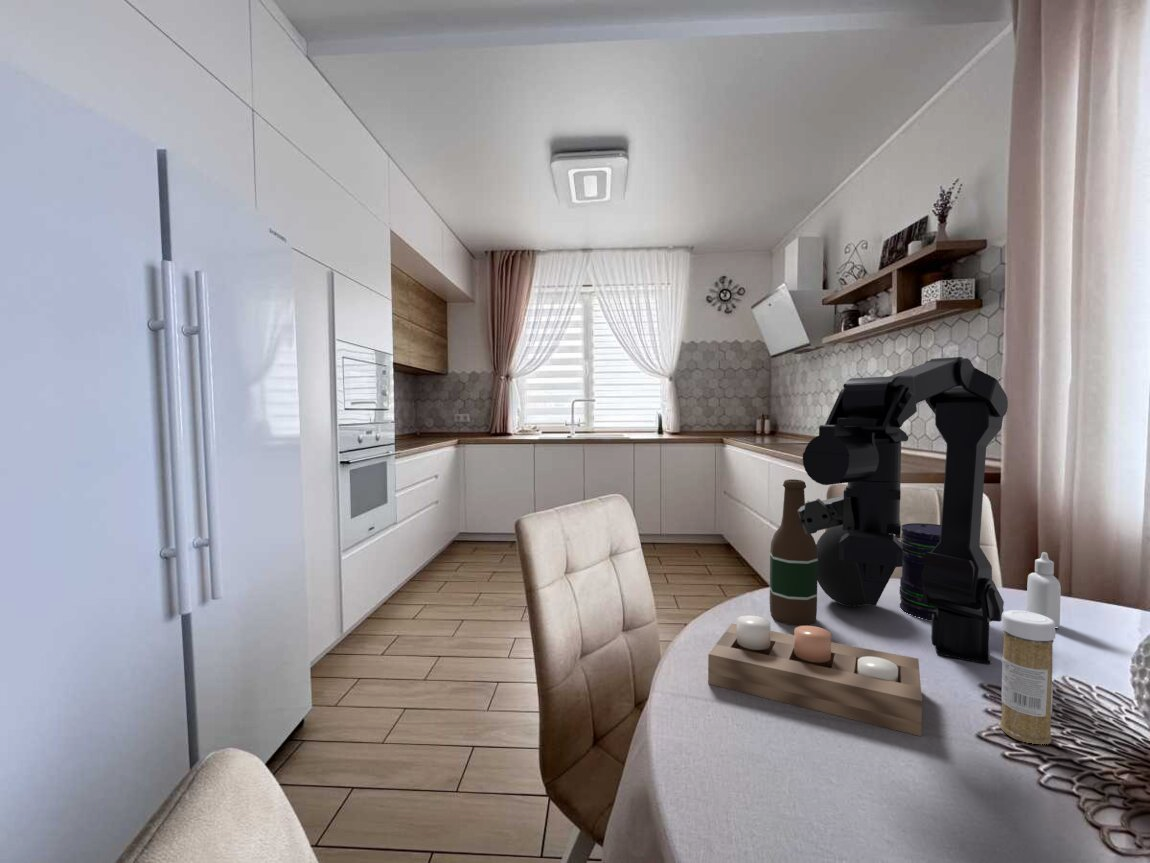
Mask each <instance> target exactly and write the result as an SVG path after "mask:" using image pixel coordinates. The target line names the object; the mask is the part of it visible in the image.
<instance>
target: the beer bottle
mask: <svg viewBox="0 0 1150 863" xmlns="http://www.w3.org/2000/svg"><path fill="white" fill-rule="evenodd" d="M782 486H783V487H784V491H783V492H784V493H783V505H782V507H783V508H782V517H781V522H780V525H779V527H778V529H777V530H776V531H775V532H774V534H773V537H772V538H771V541H770V550H769V552H770V553H769V612H770V614H771V616H772V618H773V620H774V621H777V622H780V623H782V624H785V625H789V626H810V624H813V623H815V622H816V621H817V612H818V581H817V572H818V555H817V546H816V544H817V542H816V540H815V538H814V537H813V534H806V533H805V530H804V528H803V525H802V524H801V523H800V522H799V519H800V517H799V514H798V510H799V508H800V507H802V506H804V505H805V503H806V500H805V498H806V496H805V489H806V488H807V485H806V482H805V481H804V480H802V479H792V478H791V479H785V480H784V481H783V484H782Z"/></svg>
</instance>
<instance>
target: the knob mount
mask: <svg viewBox="0 0 1150 863" xmlns="http://www.w3.org/2000/svg"><path fill="white" fill-rule="evenodd" d="M707 655H708V658H707V660H708V663H707V664H708V666H707V668H708V670H707V671H708V673H707V679H708V680H707V681H708V682H707V683H708V685H712V686H716V687H721V688H724V689H729V690H731V691H737V692H739V693H740V692H741V693H744V694H747V695H753V696H756V697H760V698H765V699H769V700H773V701H776V702H781V703H783V704H784V703H785V704H788V705H789V704H790V705H793V706H797V707H801V708H805V709H810V710H814V711H818V712H821V713H826V714H829V715H834V716H837V717H842V718H846V719H850V720H854V721H858V722H863V723H866V724H871V725H874V726H878V727H882V728H887V729H891V730H895V731H899V732H903V733H906V734H911V735H915V736H919V737H922V729H923V728H922V724H923V723H922V722H923V721H922V720H923V716H922V715H923V697H922V696H923V694H922V686H921V684H922V683H921V674H920V663H919V662H920V661H919V658H916V657H912V656H906V655H902V654H896V653H891V652H884V651H879V650H874V649H870V648H864V647H859V646H858V647H857V646H853V645H847V644H842V643H837V642H833V641H831V659H830V660H829V661H827V662H810V661H806V660H803V659H801V658H799V657H797V656H796V655H795V653H794V634H790V633H789V634H788V633H785V632H779V631H774V630H771V633H770V647H769V648H767V649H763V650H753V649H748V648H745V647H742V646H740V645H739V644H738V643H737V623H731V624H730V625H728V628H727V629H726V630H725V632H724V633H723V634H722V635H721V636H720V638H719V639H718V640H717V642H715V645H713V647H712V648H711V650H710V651H709V652H708V653H707ZM866 656H871V657H879V658H883V659H886V660H889V661H891V662H893V663H894V664H896V665H897V667H898V682H893V681H889V680H884V679H879V678H874V677H870V676H865V675H860V674H857V672H858V659H859V658H861V657H866Z"/></svg>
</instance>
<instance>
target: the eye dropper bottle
mask: <svg viewBox="0 0 1150 863" xmlns="http://www.w3.org/2000/svg"><path fill="white" fill-rule="evenodd" d="M1040 555H1041V556H1040V558H1037V559H1035V560H1034V572H1030V573H1029V574H1028V575H1027V585H1026V588H1027V590H1026V611H1027V612H1032V613H1037V614H1040V615H1043V616H1046V617H1048V618H1050V619H1052V620H1053V621H1054V622H1055V627H1059V628H1060V626H1061V625H1060V624H1061V599H1062V598H1061V596H1062V595H1061V593H1062V592H1061V591H1062V590H1061V589H1062V588H1061V582H1060V581H1059V579H1058V578H1057V577H1055V576H1054V573H1055V562H1054V561H1053V560H1051V559H1050V558H1049V555H1048V553H1047V552H1046V551H1043V552H1041V554H1040Z"/></svg>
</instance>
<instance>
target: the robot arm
mask: <svg viewBox="0 0 1150 863" xmlns="http://www.w3.org/2000/svg"><path fill="white" fill-rule="evenodd" d="M999 382H1000V381H999V380H998V379H997V378H995V377H994V376H991V375H990V374H988V373H986V372H984V371H982V370H980V369H978V368H976V367H975V366H974V364H973V363H972V361H971V360H970V358H969V357H968V358H965V357H962V356H954V357H953V356H952V357H951V356H950V357H942V358H941V357H940V358H931V359H930V360H926V361H925V362H924V363H921V364H919V365H916V366H913V367H911V368H908V369H906V370H902V371H900V372H897V373H894V374H892V375H889V376H870V377H868V376H867V377H866V376H865V377H851V378H849V379H847V380H846V381H845V382H844V384H843V385H842V388H841V389H840V392H839V393H838V396H837V398H836V400H835V402H834V404H833V406H832V409H831V411H830V413H829V415H828V417H827V419H826V421H825V424H820V425H819V426H818V427H819V428H818V435H817V436H815V437H813V438H811V440H810V441H809V442H808V443H807V445H806V447H805V450H804V452H802V465H803V468H804V471H805V473H806V474H807V476H808V477H809V478H810V479H811V480H813V481H814V482H816V483H818V484H820V485H824V486H830V485H837V484H838V485H839V484H847V486H845V488H844V489H843V495H841V496H837V497H832V498H827V499H824V500H821V499H820V498H816V499H815V500H812V501H810V500H808V501H805V505H804V506H802V507H800V508H799V510H798V514H799V517H800V519H799V522H800V523H801V524H802V525H803V528H804V530H805V533H806V534H811V535H813V534H816V533H817V532H819V531H822V530H828V529H829V528H831V527H836V526H839V525H842V524H843V530H847V531H848V532H847V533H846V534H845V535H844V536H842V537H841V540H840V542H839V559H840V560H843V561H850V562H855V563H856V564H857V566H858V570H859V574H860V579H861V583H862V588H863V593H864V597H865V602H866V604H865V605H867V606H871V607H872V606H873V607H874V606H877V604H878V602H879V600H880V598H881V597H882V594H883V592H884V590H885V589H886V587H887V584H888V583H889V581H890V579H891V577H892V576H893V573H894V572H895V570H896V569H897V568H900V567H901V568H902V563H903V546H902V543H901V540H900V539H901V534H902V533H901V532H902V524H901V519H900V518H901V517H900V516H901V515H900V514H901V513H900V512H901V508H900V507H901V498H902V497H901V492H902V491H901V490H902V489H901V483H902V482H901V478H902V477H901V474H902V472H901V471H902V469H901V468H902V442H908V441H909V436H908V434H907V433H906V431H904V430H903V429H902V426H903V425H904V423H905V422H907V420H909V419H910V418H911V417H912V416H914V415H915V414H916V413H917V411H918V409H917V404H919V403H921V402H923V401H925V402H926V404H927V406H928V407H929V409H930V410H931V411H932V412H933V413H934V416H935V417H934V420H935V422H934V423H935V424H934V425H935V428H936V429H937V431H938V432H939V434H940V435H941V437H942V438H943V440H944V442H945V443H946V450H945V451H946V452H945V453H946V454H945V466H944V467H945V468H944V481H943V494H942V495H943V496H942V509H941V511H942V512H941V522H940V525H941V535H940V542H939V543H938V544H937V545H936V547H935V548H934V549H933V550H932V551H931V552H927V553H926V554H925V556H924V569H923V571H922V574H921V586H922V592H923V597H924V603H925V605H926V606H932V607H936V608H937V611H936V614H934V613H933V614H932V621H931V628H930V629H931V634H930V635H931V636H930V638H931V645H933V647H935V652H936V654H937V655H940V656H945V657H951V658H955V659H961V660H967V661H972V662H978V663H981V664H982V663H983V664H991V663H992V659H991V656H990V654H989V652H990V648H989V647H990V623H991V622H999V623H1000V622H1002V615H1003V613H1004V612H1005V611H1004V604H1005V601H1004V599H1003V597H1002V595H1001V593H1000V592H999V589H998V588H997V585H996V584H995V582H994V580H993V578H992V577H993V567H992V566H993V565H992V564H991V562H990V561H989V559H988V558H987V556H986V554H985V553H984V551H983V549H982V548H981V544H980V543H981V542H980V541H981V531H982V530H981V528H982V512H983V500H984V488H985V487H984V484H985V483H984V482H985V471H986V459H987V458H986V457H987V456H986V455H987V448H988V447H987V446H988V445H989V444H990V443H991V441H993V439H994V438H995V437H996V436H997V434H999V432H1000V431H1001V430H1002V428H1003V423H1004V422H1003V420H1004V417H1005V415H1006V414H1007V411H1008V409H1009V408H1008V407H1009V405H1008V404H1009V402H1008V400H1009V399H1008V396H1007V394H1006V392H1005V390H1004V389H1003V387H1002V386H1001V384H1000V383H999Z"/></svg>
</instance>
